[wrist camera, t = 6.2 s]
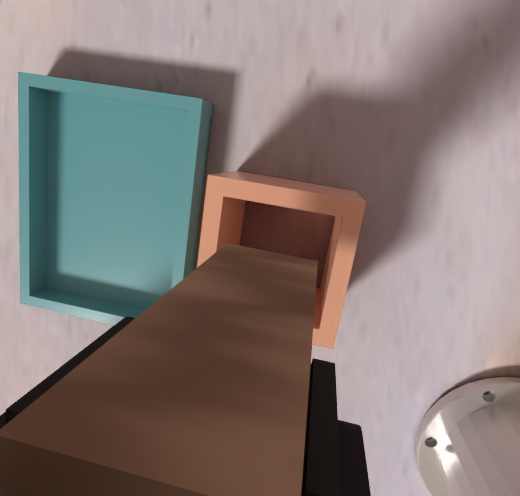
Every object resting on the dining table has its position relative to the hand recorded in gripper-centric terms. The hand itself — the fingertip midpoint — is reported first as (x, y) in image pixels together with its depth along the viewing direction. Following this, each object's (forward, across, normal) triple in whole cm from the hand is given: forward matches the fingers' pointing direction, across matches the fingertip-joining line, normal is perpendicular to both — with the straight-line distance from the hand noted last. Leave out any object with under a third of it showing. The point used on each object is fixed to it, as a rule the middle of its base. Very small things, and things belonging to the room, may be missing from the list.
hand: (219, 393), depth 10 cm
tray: (+19, +13, 0) cm, 23 cm away
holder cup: (+19, 0, 0) cm, 19 cm away
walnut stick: (+7, 0, 0) cm, 7 cm away
